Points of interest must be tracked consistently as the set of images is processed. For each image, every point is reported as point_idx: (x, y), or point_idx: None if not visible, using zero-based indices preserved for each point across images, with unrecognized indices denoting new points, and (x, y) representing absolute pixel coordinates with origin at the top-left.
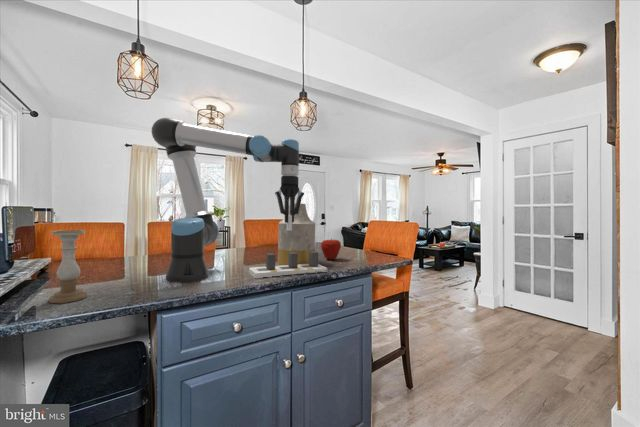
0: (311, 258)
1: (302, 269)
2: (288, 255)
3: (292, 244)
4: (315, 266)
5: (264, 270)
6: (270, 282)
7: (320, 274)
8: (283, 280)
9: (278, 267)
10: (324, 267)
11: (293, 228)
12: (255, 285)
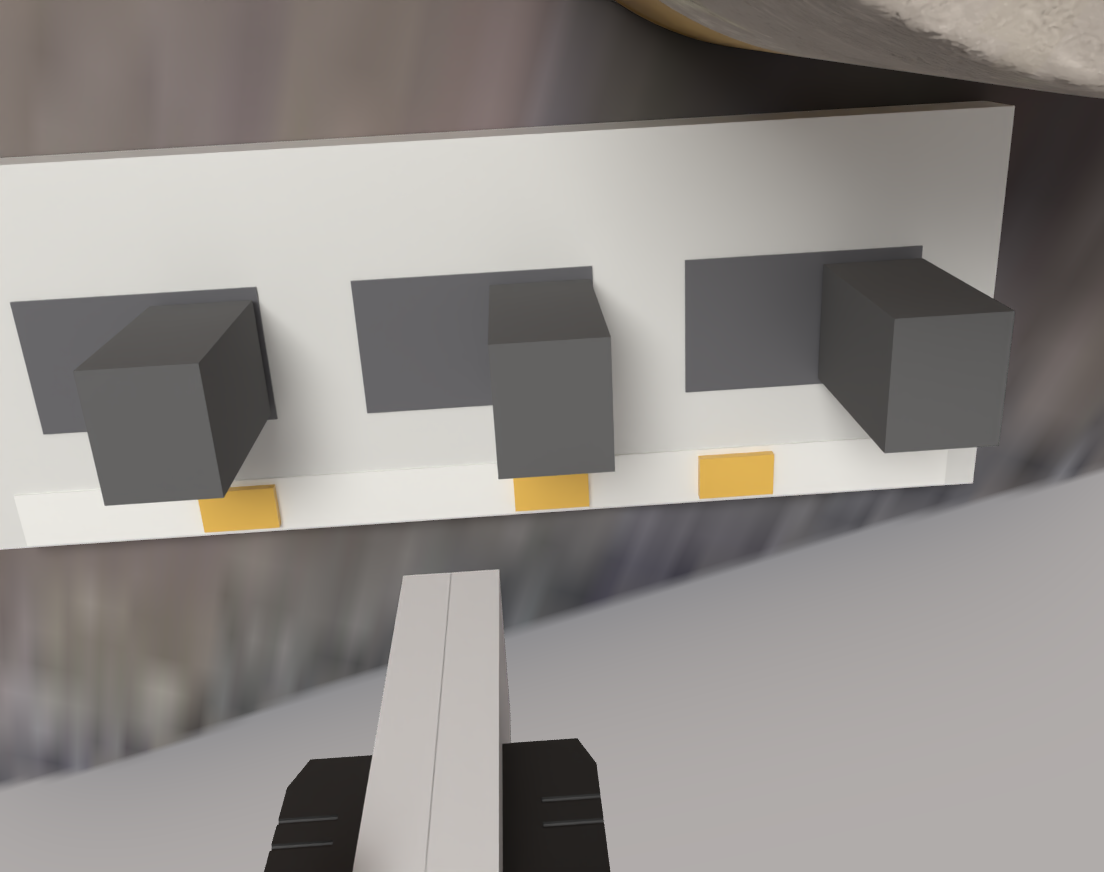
0: (853, 384)
1: (624, 497)
2: (488, 330)
3: (686, 4)
4: None
5: None
6: (190, 702)
7: (823, 523)
8: (335, 664)
9: (341, 279)
10: None
11: (809, 13)
12: (37, 764)
